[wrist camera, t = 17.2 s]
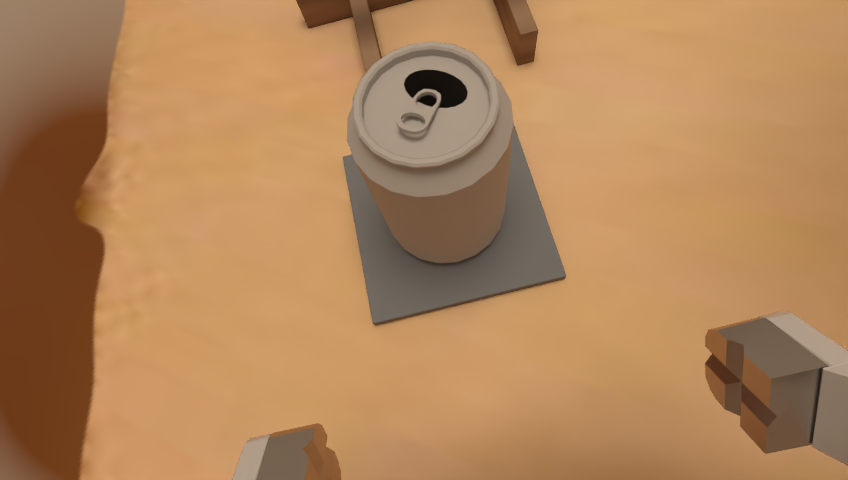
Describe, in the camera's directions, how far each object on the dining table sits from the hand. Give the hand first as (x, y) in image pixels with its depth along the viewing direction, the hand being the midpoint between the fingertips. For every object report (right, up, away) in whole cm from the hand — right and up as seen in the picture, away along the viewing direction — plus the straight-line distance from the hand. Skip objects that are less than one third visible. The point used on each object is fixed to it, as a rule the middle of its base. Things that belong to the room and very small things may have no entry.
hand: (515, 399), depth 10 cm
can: (0, +5, +21) cm, 22 cm away
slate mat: (0, +5, +21) cm, 22 cm away
